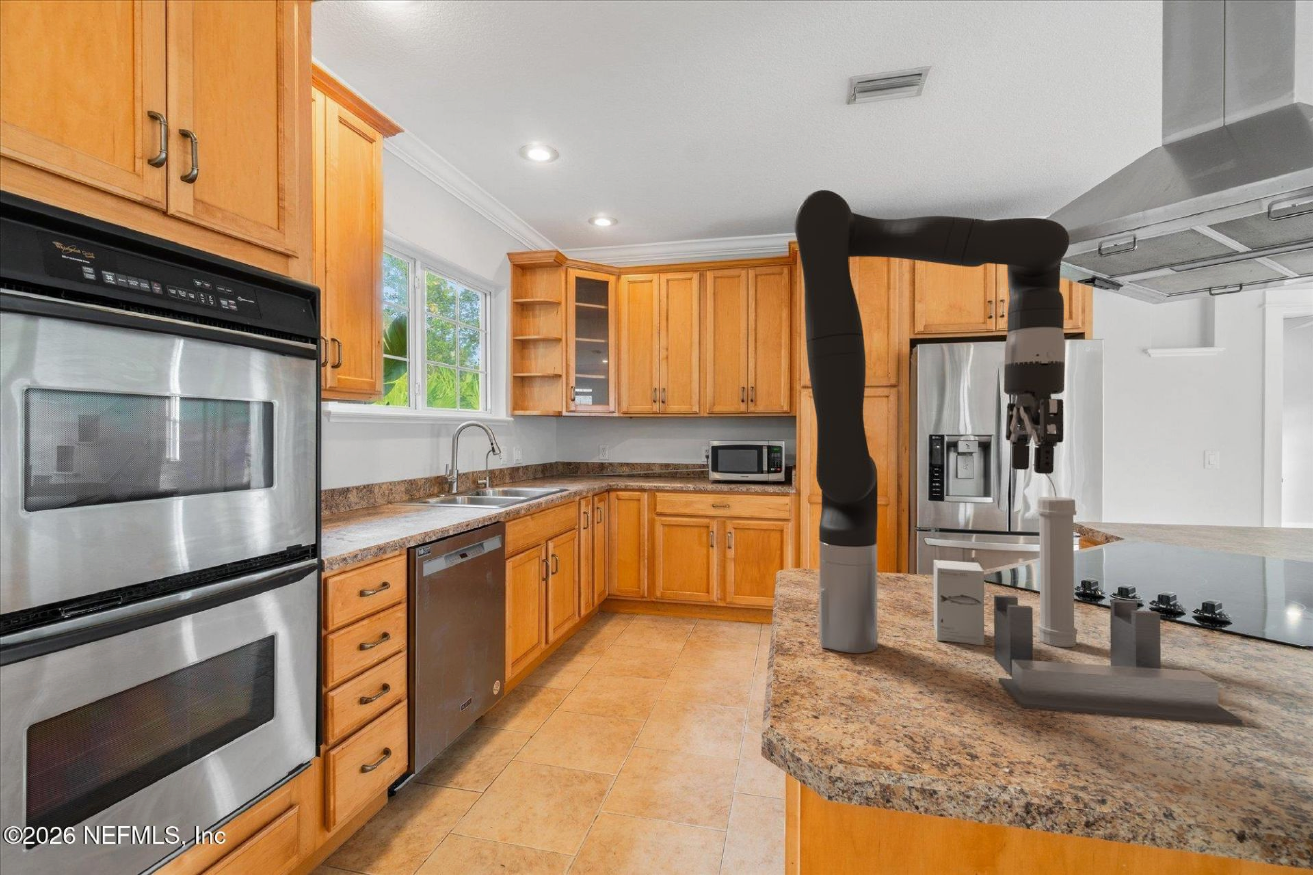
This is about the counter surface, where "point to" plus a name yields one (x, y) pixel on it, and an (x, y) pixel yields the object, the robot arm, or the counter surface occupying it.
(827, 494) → the robot arm
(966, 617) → the supplement box
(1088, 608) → the counter surface
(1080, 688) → the rail
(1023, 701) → the mat
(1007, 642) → the post
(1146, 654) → the post
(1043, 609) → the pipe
